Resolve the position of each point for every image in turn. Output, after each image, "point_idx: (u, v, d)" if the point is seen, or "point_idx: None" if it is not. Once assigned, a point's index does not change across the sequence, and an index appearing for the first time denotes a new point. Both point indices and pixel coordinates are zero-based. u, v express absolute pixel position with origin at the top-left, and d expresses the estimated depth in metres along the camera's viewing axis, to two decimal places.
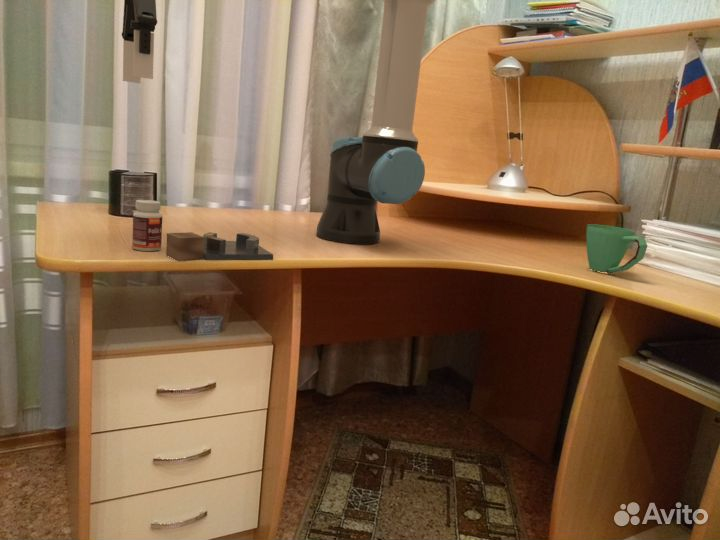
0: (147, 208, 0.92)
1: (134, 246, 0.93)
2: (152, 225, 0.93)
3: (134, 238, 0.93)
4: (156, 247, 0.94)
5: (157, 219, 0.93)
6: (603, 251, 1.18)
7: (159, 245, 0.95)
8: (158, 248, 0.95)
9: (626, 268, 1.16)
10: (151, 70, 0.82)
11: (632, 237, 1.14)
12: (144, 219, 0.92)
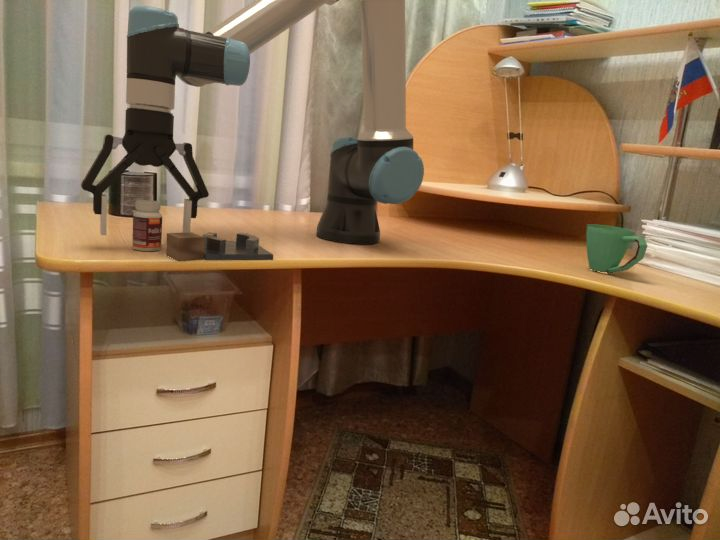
0: (147, 208, 0.92)
1: (134, 246, 0.93)
2: (152, 225, 0.93)
3: (134, 238, 0.93)
4: (156, 247, 0.94)
5: (157, 219, 0.93)
6: (603, 251, 1.18)
7: (159, 245, 0.95)
8: (158, 248, 0.95)
9: (626, 268, 1.16)
10: (101, 228, 0.90)
11: (632, 237, 1.14)
12: (144, 219, 0.92)
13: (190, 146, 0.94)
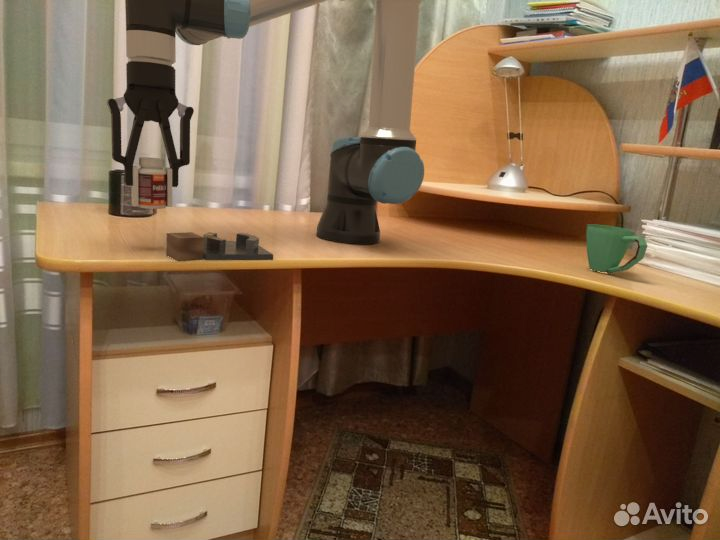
0: (151, 164, 0.91)
1: (139, 204, 0.92)
2: (156, 182, 0.91)
3: (139, 196, 0.92)
4: (161, 204, 0.93)
5: (161, 176, 0.92)
6: (603, 251, 1.18)
7: (164, 203, 0.94)
8: (163, 206, 0.93)
9: (626, 268, 1.16)
10: (133, 199, 0.91)
11: (632, 237, 1.14)
12: (148, 175, 0.91)
13: (192, 111, 0.92)
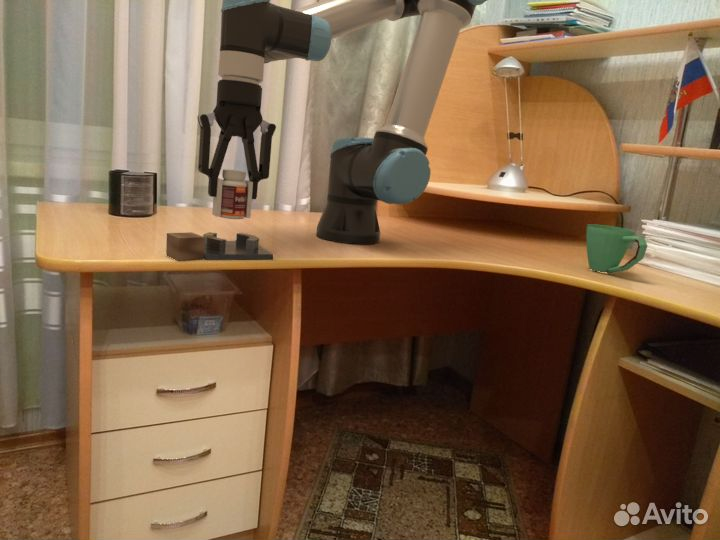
0: (235, 177, 0.95)
1: None
2: (239, 194, 0.96)
3: (221, 206, 0.96)
4: (241, 215, 0.97)
5: (243, 188, 0.96)
6: (603, 251, 1.18)
7: (243, 214, 0.98)
8: (242, 216, 0.98)
9: (626, 268, 1.16)
10: (216, 209, 0.96)
11: (632, 237, 1.14)
12: (232, 187, 0.95)
13: (274, 127, 0.97)
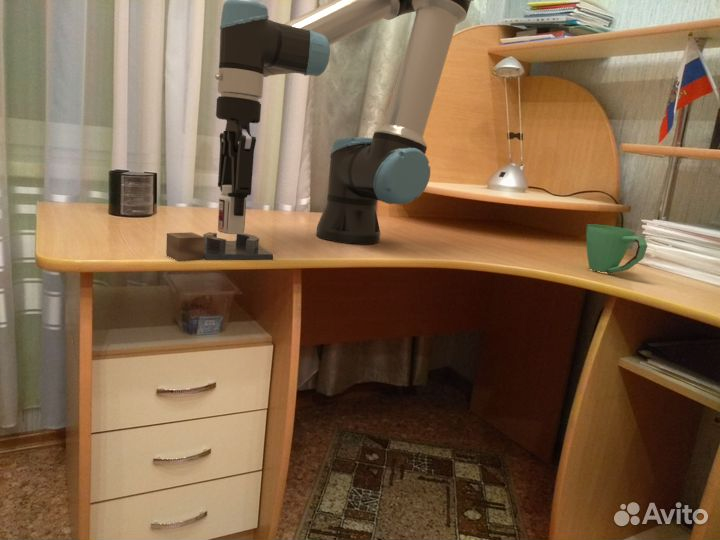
0: None
1: None
2: None
3: None
4: None
5: None
6: (603, 251, 1.18)
7: None
8: None
9: (626, 268, 1.16)
10: (242, 227, 0.97)
11: (632, 237, 1.14)
12: None
13: None
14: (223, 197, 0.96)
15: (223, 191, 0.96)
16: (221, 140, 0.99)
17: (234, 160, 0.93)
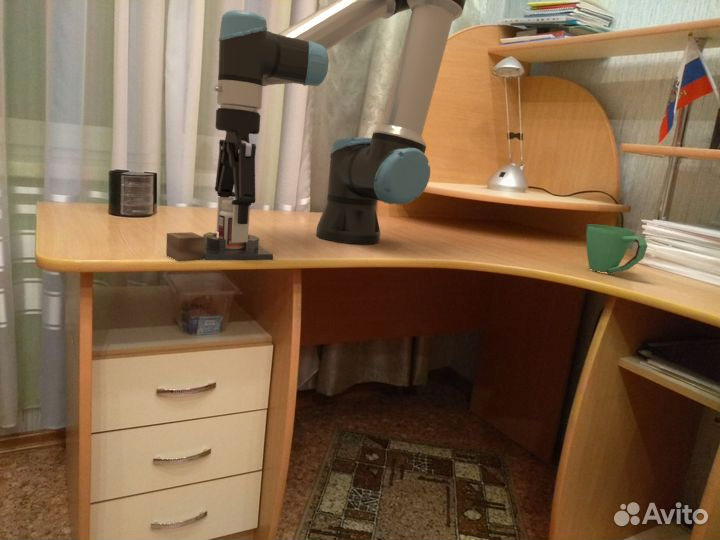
0: None
1: (239, 246, 0.98)
2: None
3: None
4: None
5: None
6: (603, 251, 1.18)
7: None
8: None
9: (626, 268, 1.16)
10: (246, 235, 0.95)
11: (632, 237, 1.14)
12: None
13: None
14: (223, 213, 0.97)
15: (223, 207, 0.97)
16: (220, 147, 1.00)
17: (235, 169, 0.93)
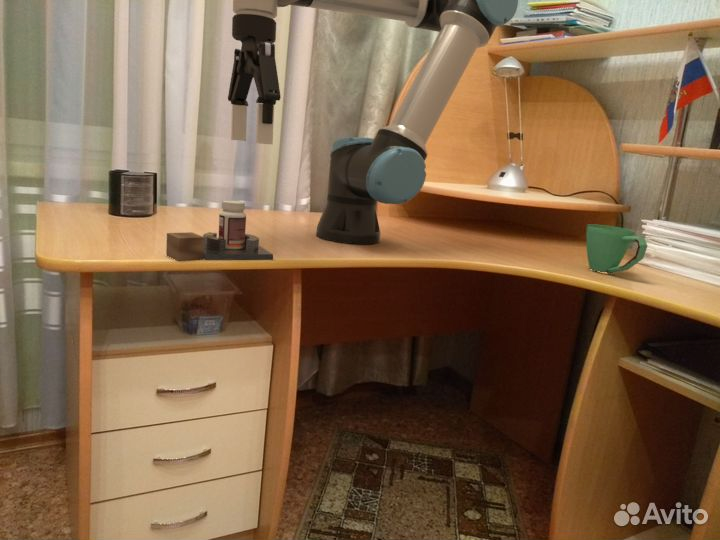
0: (244, 207, 0.99)
1: (239, 246, 0.98)
2: None
3: (239, 238, 0.98)
4: None
5: None
6: (603, 251, 1.18)
7: None
8: None
9: (626, 268, 1.16)
10: (271, 137, 0.94)
11: (632, 237, 1.14)
12: None
13: None
14: (223, 213, 0.97)
15: (223, 207, 0.97)
16: (235, 57, 1.00)
17: (256, 71, 0.92)
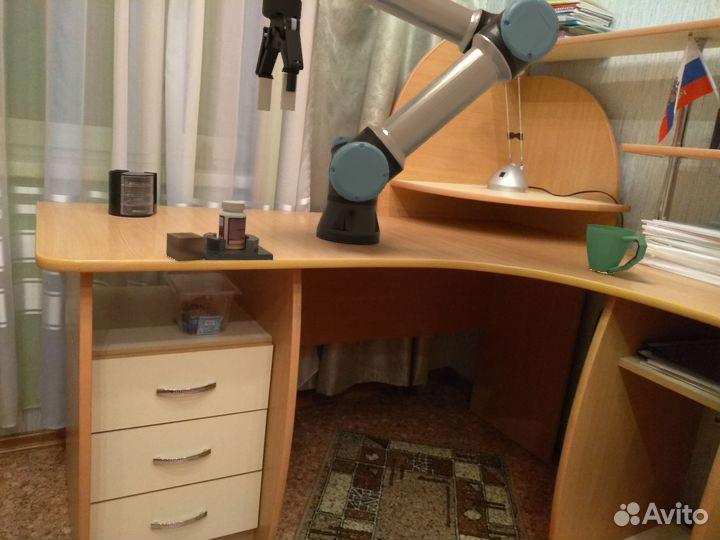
0: (244, 207, 0.99)
1: (239, 246, 0.98)
2: None
3: (239, 238, 0.98)
4: None
5: None
6: (603, 251, 1.18)
7: None
8: None
9: (626, 268, 1.16)
10: (293, 104, 1.04)
11: (632, 237, 1.14)
12: None
13: None
14: (223, 213, 0.97)
15: (223, 207, 0.97)
16: (264, 34, 1.11)
17: (282, 44, 1.03)
